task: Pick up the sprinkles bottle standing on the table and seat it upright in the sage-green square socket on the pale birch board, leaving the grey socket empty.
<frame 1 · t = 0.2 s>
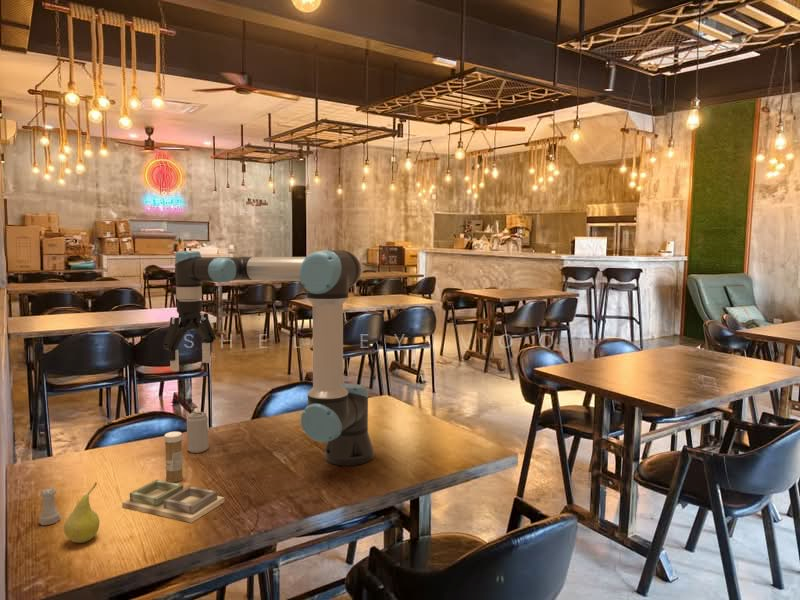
hand: (191, 366, 179), 28 cm above the table, fingers open, 13 cm apart
board: (174, 504, 144), on the table
fruit: (84, 540, 126), on the table
beverage can: (198, 451, 182), on the table
sprinkles bottle: (174, 480, 159), on the table
rook chess piece: (49, 522, 135), on the table
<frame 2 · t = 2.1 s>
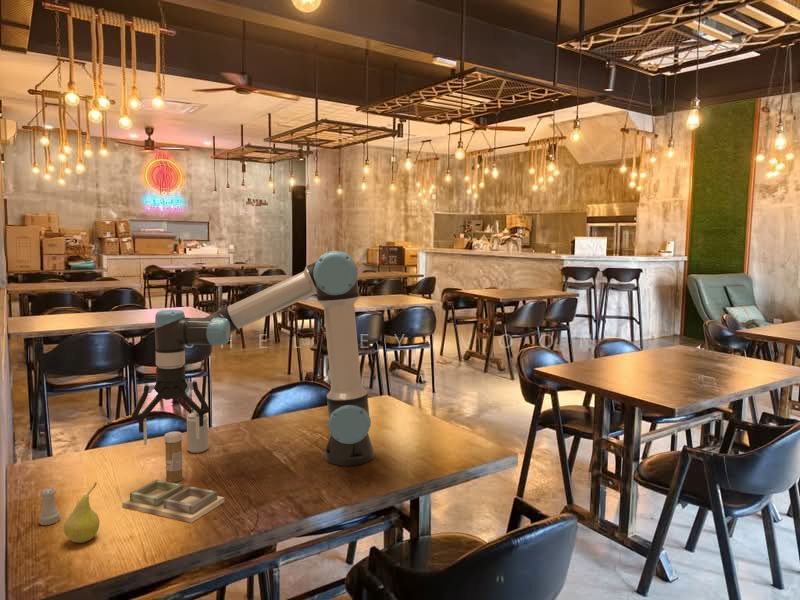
hand: (172, 440, 158), 11 cm above the table, fingers open, 13 cm apart
nothing on the table moved.
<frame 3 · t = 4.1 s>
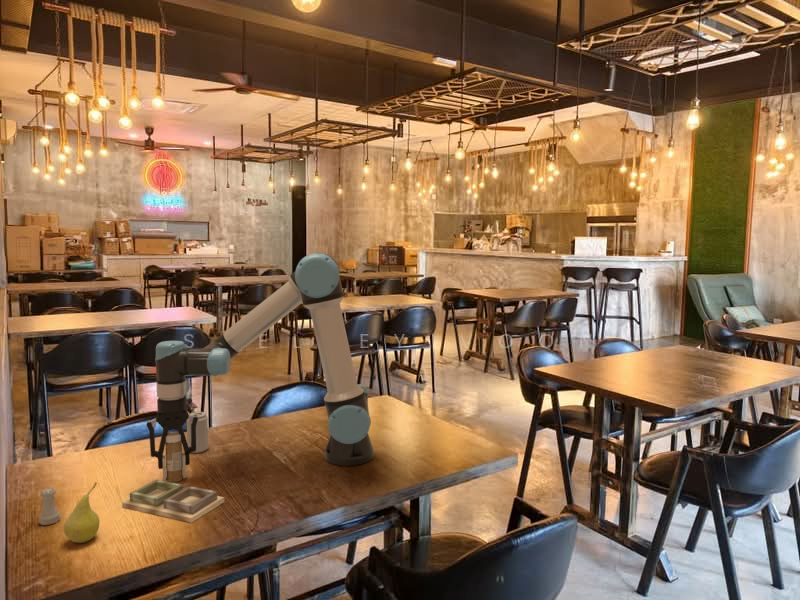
hand: (174, 477, 159), 1 cm above the table, fingers closed on sprinkles bottle, 4 cm apart
sprinkles bottle: (174, 480, 159), on the table, touching gripper
everything else where it was.
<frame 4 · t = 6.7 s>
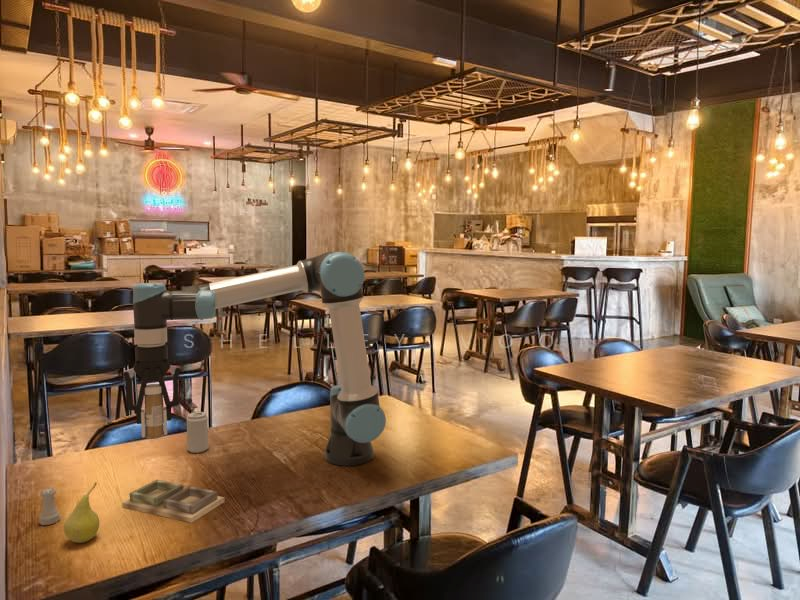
hand: (154, 434, 144), 18 cm above the table, fingers closed on sprinkles bottle, 4 cm apart
sprinkles bottle: (155, 437, 144), point 17 cm above the table, touching gripper
everything else where it was.
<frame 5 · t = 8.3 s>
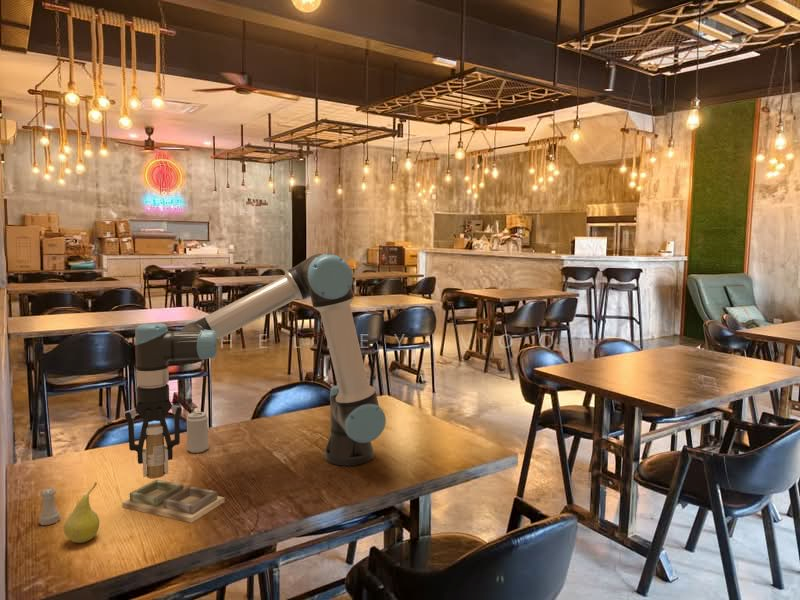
hand: (155, 473, 145), 7 cm above the table, fingers closed on sprinkles bottle, 4 cm apart
sprinkles bottle: (156, 476, 145), point 6 cm above the table, touching gripper
everything else where it was.
when the fingers open (4 cm above the table, at t = 9.7 s): sprinkles bottle drops 2 cm, resting on board.
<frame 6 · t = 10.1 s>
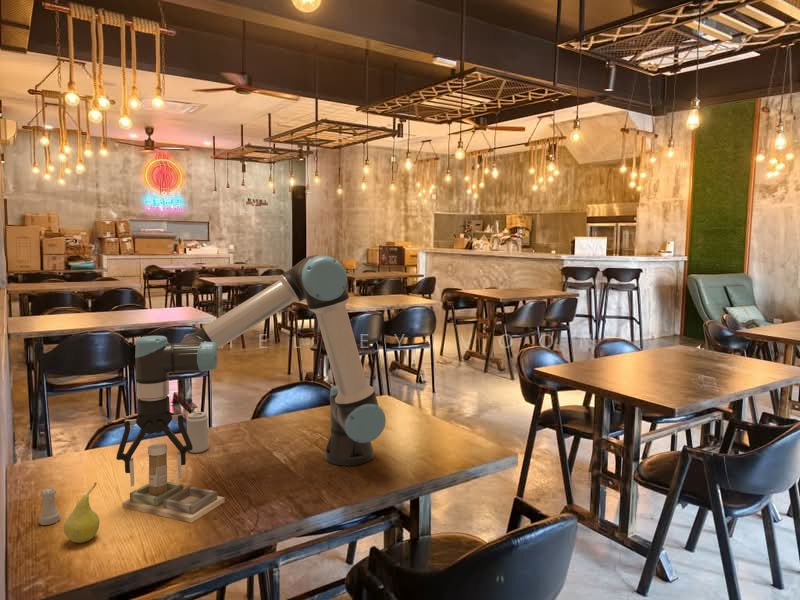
hand: (156, 480, 145), 5 cm above the table, fingers open, 10 cm apart
sprinkles bottle: (158, 496, 146), point 1 cm above the table, touching board
everything else where it was.
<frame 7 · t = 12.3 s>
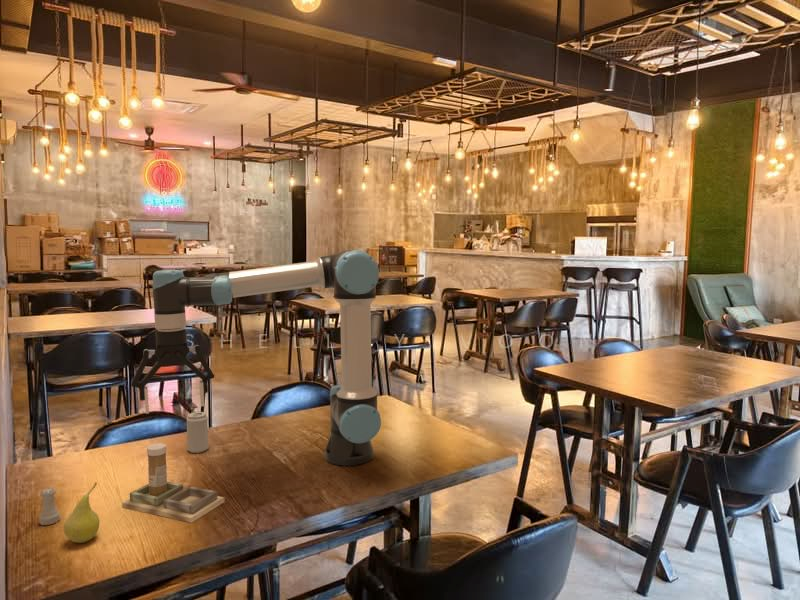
hand: (175, 408, 149), 23 cm above the table, fingers open, 13 cm apart
nothing on the table moved.
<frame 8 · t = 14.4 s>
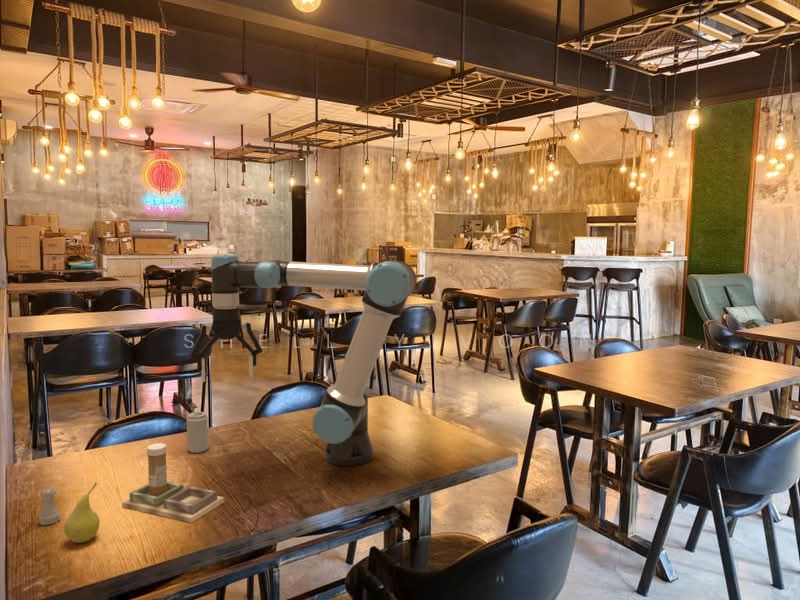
hand: (227, 378, 166), 27 cm above the table, fingers open, 13 cm apart
nothing on the table moved.
at the end: sprinkles bottle 0.3 cm from the target spot on the board, point 1.0 cm above the board's base; sprinkles bottle tilted 0°; the gripper is holding nothing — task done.
